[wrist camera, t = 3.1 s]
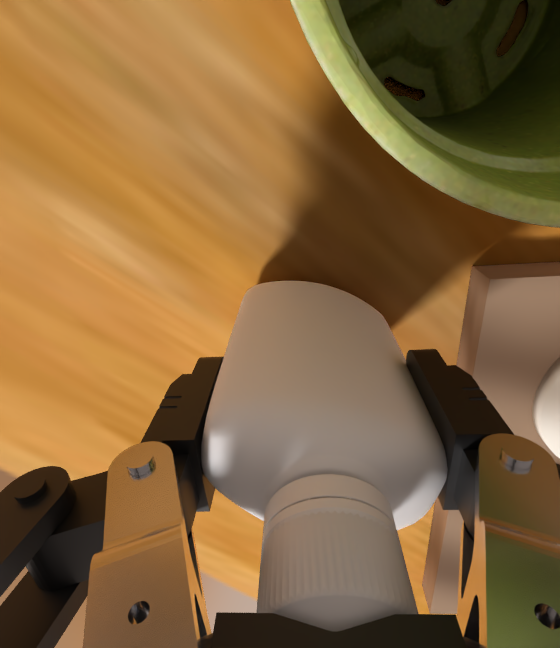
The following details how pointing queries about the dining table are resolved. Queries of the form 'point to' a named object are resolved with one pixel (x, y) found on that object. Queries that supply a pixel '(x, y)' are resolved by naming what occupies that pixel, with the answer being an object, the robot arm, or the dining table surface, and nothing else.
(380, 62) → the plant pot
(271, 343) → the eye dropper bottle
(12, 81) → the dining table surface
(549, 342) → the board
